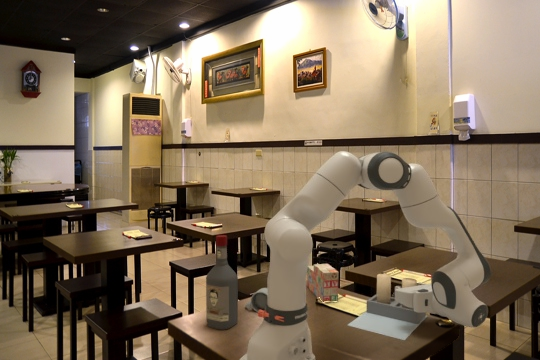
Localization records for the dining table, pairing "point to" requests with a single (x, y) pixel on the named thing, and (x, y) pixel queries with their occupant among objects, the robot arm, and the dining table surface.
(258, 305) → the ceramic mug
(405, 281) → the beech post
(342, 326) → the dining table surface
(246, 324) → the dining table surface
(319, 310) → the dining table surface
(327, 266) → the stack of blocks
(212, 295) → the liquor
